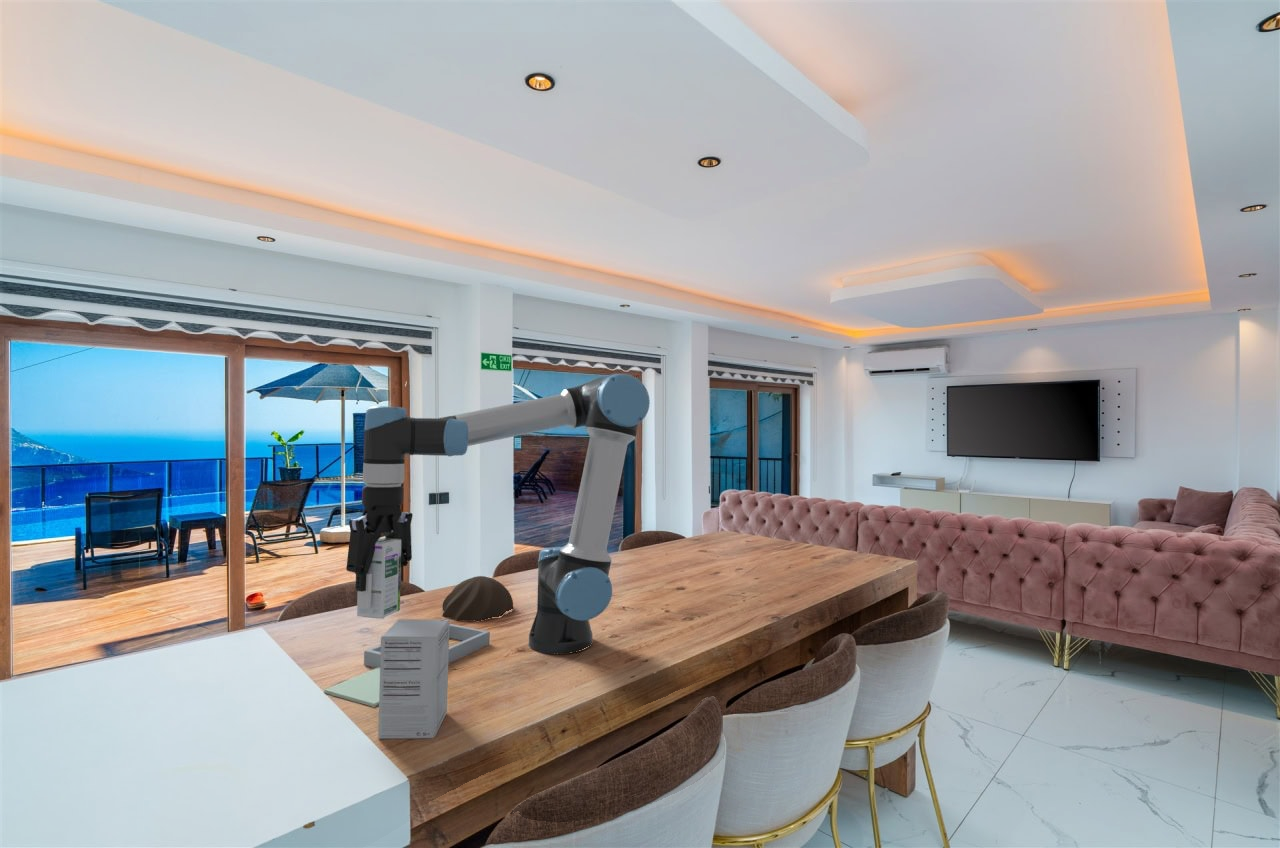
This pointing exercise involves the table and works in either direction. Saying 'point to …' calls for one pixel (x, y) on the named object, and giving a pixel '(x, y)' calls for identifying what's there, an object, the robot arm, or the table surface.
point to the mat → (359, 688)
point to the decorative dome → (477, 600)
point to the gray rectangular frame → (469, 644)
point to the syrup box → (384, 579)
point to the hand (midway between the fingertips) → (379, 602)
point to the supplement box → (413, 679)
